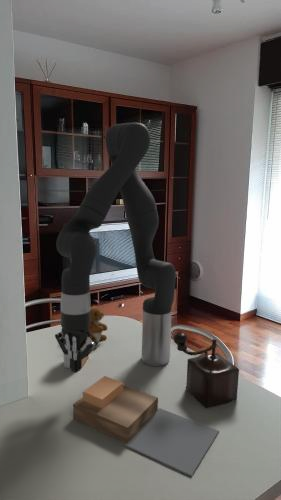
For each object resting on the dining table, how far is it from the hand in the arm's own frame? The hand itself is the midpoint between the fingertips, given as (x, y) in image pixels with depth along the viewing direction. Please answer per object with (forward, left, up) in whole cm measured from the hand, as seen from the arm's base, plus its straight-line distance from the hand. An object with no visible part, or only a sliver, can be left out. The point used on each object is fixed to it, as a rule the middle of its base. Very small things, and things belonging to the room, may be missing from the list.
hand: (75, 370), depth 98 cm
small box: (-15, -13, -8) cm, 22 cm away
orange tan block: (0, +9, -4) cm, 10 cm away
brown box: (0, +13, -8) cm, 15 cm away
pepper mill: (-20, +28, -9) cm, 36 cm away
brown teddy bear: (-30, -21, -9) cm, 37 cm away
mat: (0, +29, -8) cm, 30 cm away
